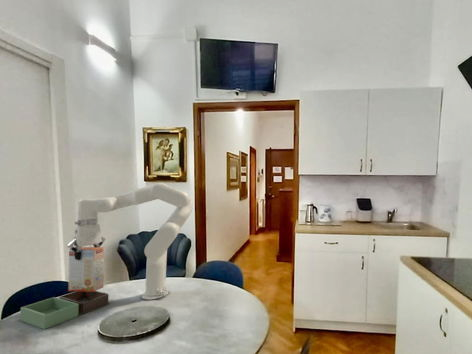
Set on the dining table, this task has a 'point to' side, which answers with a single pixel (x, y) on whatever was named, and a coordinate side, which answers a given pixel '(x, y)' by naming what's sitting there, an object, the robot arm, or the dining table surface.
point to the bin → (49, 312)
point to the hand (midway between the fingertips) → (87, 257)
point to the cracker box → (86, 270)
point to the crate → (95, 301)
